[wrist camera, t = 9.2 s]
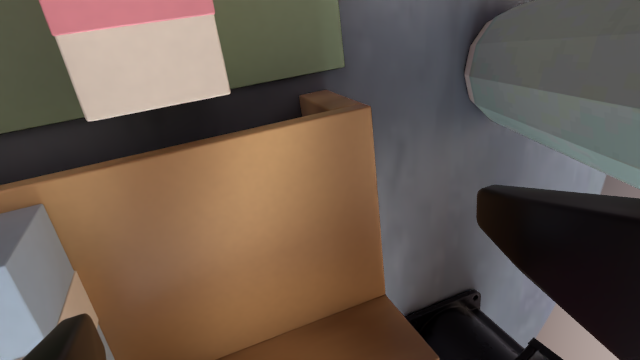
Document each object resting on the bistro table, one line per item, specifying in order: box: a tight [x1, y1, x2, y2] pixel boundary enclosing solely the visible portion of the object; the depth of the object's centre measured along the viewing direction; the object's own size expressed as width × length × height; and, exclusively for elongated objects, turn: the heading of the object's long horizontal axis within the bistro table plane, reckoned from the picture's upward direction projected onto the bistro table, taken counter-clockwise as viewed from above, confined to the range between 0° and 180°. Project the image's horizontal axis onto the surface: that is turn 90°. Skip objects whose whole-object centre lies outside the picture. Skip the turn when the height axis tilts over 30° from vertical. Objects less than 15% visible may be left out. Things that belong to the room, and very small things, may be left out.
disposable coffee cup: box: [464, 0, 640, 189], centre depth 18 cm, size 11×11×15 cm
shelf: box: [0, 90, 439, 360], centre depth 16 cm, size 20×11×10 cm, turn 100°
